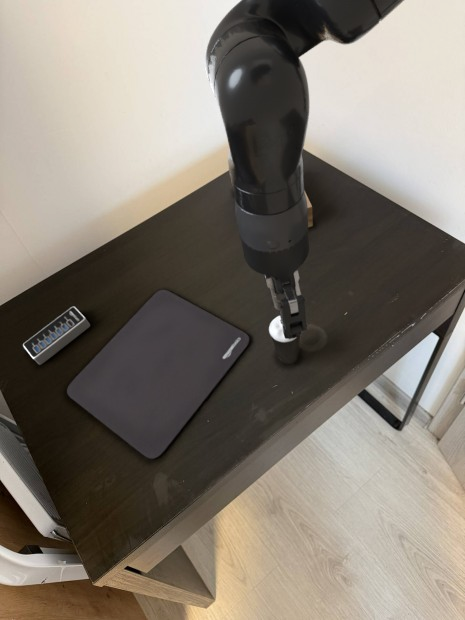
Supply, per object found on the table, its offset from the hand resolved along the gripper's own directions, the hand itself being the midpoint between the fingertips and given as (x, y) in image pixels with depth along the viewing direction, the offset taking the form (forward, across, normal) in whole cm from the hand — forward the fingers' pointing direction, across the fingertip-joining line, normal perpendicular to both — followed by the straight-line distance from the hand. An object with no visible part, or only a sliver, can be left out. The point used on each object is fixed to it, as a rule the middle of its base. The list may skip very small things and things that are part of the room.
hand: (283, 309), depth 64 cm
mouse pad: (+13, +5, +21) cm, 25 cm away
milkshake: (+13, 0, 0) cm, 13 cm away
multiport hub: (+14, +16, +38) cm, 43 cm away
